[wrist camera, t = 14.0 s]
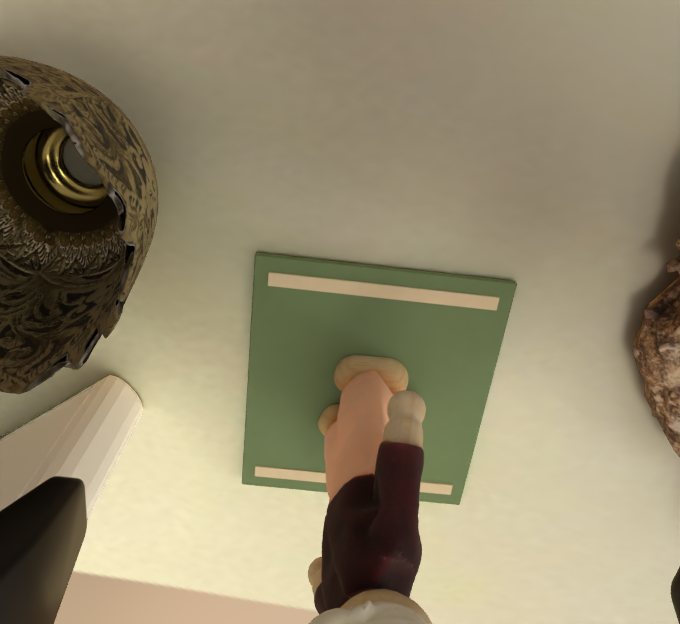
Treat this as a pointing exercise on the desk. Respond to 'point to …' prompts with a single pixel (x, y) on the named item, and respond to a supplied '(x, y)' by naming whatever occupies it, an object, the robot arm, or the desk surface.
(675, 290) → the stone
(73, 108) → the cup
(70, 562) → the robot arm
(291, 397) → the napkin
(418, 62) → the desk surface
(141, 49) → the desk surface
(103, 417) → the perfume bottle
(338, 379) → the grandmother figurine
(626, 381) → the desk surface
